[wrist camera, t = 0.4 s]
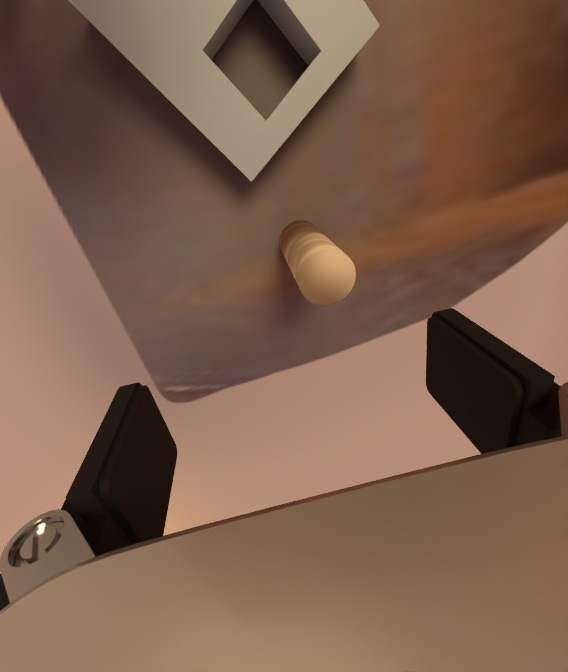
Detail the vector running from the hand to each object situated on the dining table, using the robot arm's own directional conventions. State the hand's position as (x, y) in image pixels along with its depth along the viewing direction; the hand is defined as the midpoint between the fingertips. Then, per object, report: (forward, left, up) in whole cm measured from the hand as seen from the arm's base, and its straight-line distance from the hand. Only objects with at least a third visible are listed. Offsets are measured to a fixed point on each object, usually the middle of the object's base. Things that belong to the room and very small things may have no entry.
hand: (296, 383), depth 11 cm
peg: (-2, +5, -27) cm, 27 cm away
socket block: (-10, -11, -27) cm, 31 cm away
